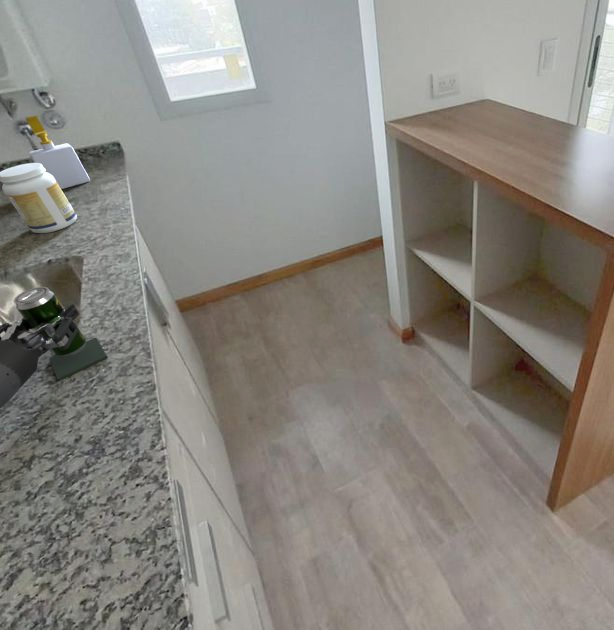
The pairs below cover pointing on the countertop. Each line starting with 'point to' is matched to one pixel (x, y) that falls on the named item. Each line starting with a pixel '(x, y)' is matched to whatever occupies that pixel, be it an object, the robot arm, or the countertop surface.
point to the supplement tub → (37, 198)
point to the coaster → (78, 360)
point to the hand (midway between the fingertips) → (57, 310)
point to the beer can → (46, 316)
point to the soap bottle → (57, 158)
